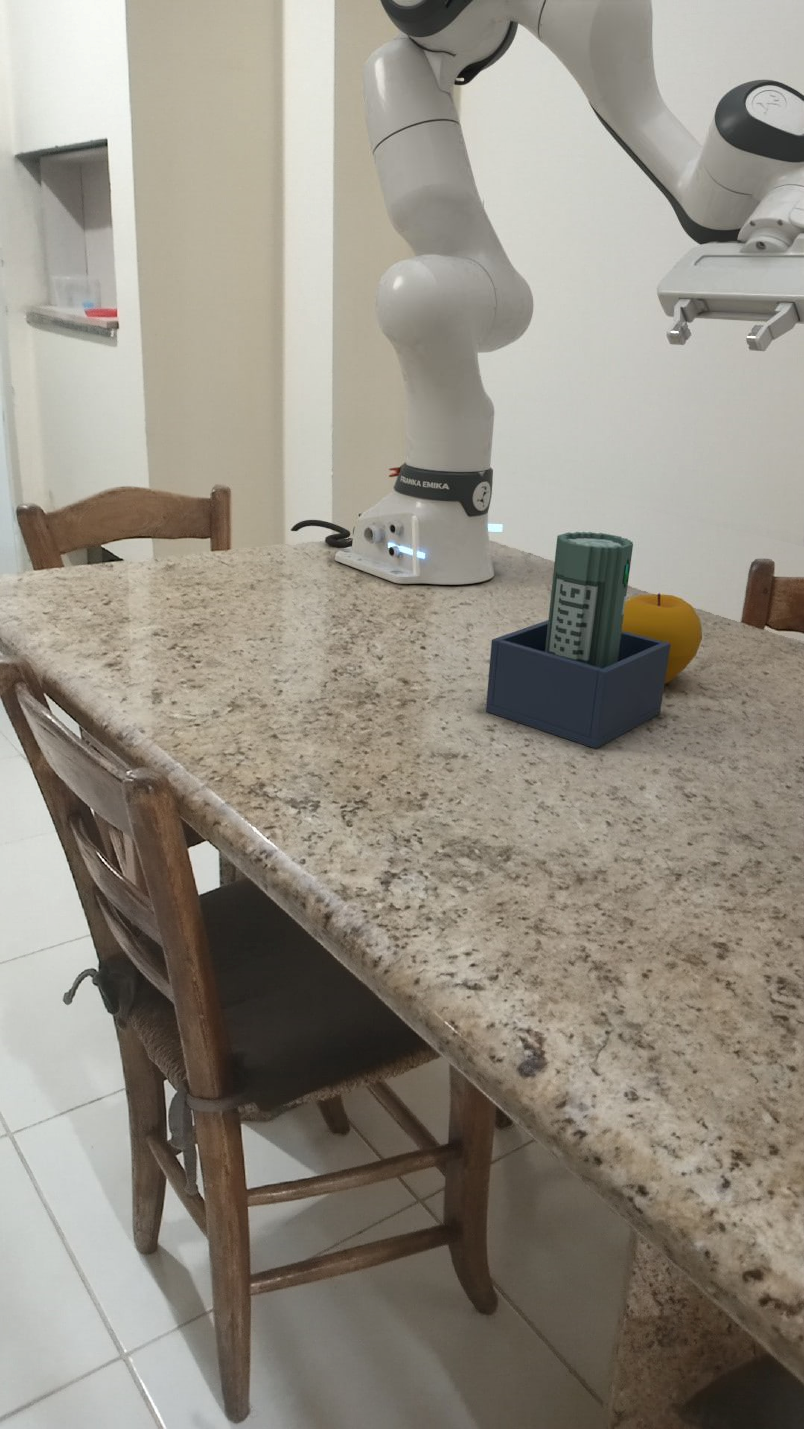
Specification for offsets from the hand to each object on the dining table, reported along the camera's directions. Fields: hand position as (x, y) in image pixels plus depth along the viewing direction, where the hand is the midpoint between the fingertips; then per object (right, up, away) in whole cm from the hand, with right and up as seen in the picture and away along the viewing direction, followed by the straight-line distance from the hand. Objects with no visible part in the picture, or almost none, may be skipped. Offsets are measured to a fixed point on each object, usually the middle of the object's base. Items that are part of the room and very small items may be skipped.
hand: (712, 343), depth 102 cm
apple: (-6, -34, 0) cm, 34 cm away
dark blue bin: (-15, -37, -10) cm, 41 cm away
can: (-15, -36, -10) cm, 41 cm away
